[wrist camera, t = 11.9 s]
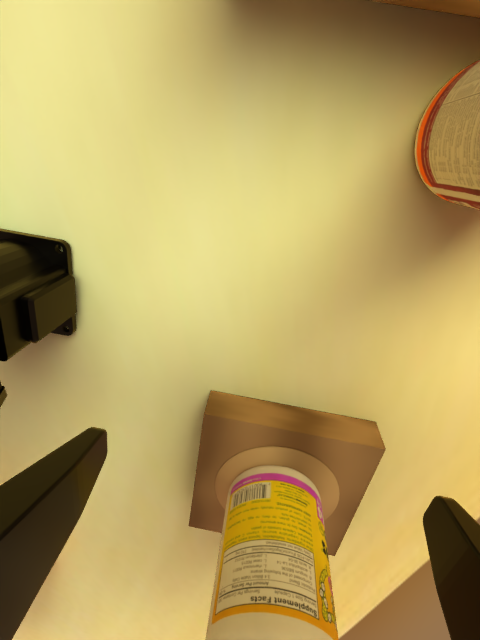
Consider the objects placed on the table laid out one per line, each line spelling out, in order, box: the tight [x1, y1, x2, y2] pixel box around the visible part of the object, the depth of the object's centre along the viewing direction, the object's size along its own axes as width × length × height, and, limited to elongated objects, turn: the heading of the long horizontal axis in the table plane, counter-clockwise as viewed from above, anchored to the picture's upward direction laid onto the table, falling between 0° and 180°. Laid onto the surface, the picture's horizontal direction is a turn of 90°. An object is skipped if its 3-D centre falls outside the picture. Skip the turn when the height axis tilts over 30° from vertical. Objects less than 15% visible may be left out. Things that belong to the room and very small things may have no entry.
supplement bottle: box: [205, 465, 338, 640], centre depth 19 cm, size 7×7×13 cm
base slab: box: [189, 391, 385, 556], centre depth 26 cm, size 12×12×3 cm
